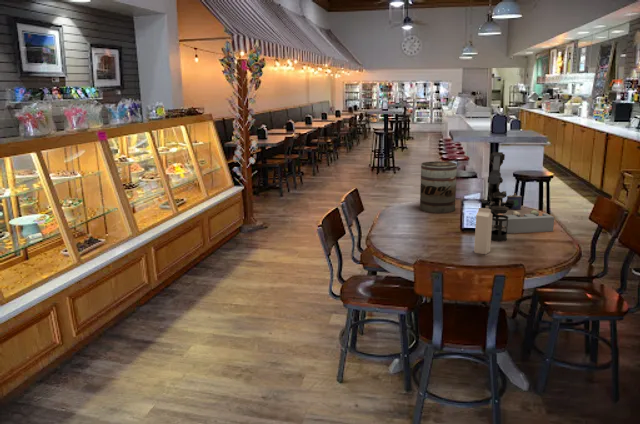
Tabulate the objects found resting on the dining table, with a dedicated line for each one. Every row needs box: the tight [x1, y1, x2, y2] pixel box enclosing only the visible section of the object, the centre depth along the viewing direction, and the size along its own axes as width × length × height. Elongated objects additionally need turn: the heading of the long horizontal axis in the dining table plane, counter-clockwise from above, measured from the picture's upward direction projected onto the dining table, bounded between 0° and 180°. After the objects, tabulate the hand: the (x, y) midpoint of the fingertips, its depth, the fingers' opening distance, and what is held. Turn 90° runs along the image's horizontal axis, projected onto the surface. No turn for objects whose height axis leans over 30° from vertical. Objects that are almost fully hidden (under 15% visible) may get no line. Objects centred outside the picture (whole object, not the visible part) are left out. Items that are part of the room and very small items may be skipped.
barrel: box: [419, 160, 458, 215], centre depth 335 cm, size 22×22×30 cm
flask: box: [506, 192, 523, 211], centre depth 333 cm, size 9×3×11 cm, turn 88°
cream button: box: [511, 210, 521, 217], centre depth 292 cm, size 5×4×4 cm
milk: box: [473, 207, 493, 255], centre depth 250 cm, size 6×6×22 cm
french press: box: [491, 196, 509, 242], centre depth 271 cm, size 12×9×23 cm
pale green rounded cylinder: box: [529, 209, 540, 216], centre depth 293 cm, size 5×4×4 cm
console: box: [492, 212, 555, 235], centre depth 287 cm, size 9×32×8 cm, turn 96°
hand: (498, 217), depth 290 cm, fingers closed
